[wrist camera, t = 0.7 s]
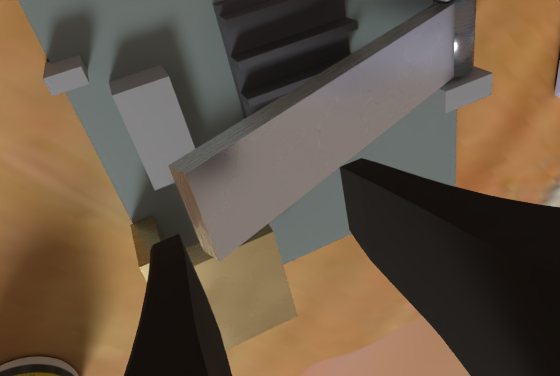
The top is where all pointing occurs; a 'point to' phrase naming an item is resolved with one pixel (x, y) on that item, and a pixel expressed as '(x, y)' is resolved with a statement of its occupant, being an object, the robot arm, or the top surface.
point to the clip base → (227, 93)
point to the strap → (319, 126)
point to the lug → (233, 282)
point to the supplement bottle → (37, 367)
